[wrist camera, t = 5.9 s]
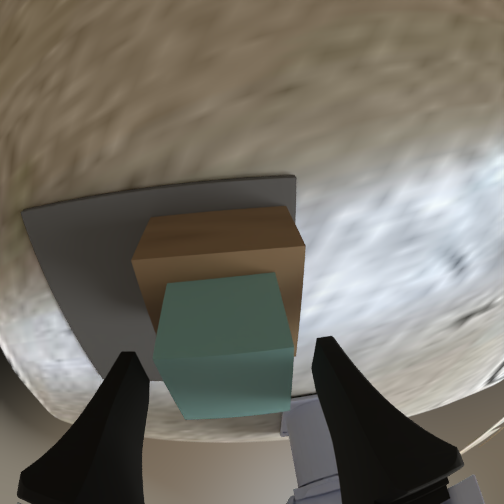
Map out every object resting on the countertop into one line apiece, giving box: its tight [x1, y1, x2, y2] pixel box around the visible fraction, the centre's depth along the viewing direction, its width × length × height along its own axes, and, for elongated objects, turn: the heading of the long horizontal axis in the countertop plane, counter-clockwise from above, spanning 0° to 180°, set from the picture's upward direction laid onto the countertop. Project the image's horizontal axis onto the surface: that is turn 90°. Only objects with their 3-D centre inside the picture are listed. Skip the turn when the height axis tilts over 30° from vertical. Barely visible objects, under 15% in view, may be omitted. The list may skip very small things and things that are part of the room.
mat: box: [21, 175, 296, 381], centre depth 18 cm, size 16×16×1 cm
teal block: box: [153, 272, 294, 420], centre depth 12 cm, size 4×4×4 cm
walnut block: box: [131, 206, 306, 356], centre depth 15 cm, size 7×7×4 cm
